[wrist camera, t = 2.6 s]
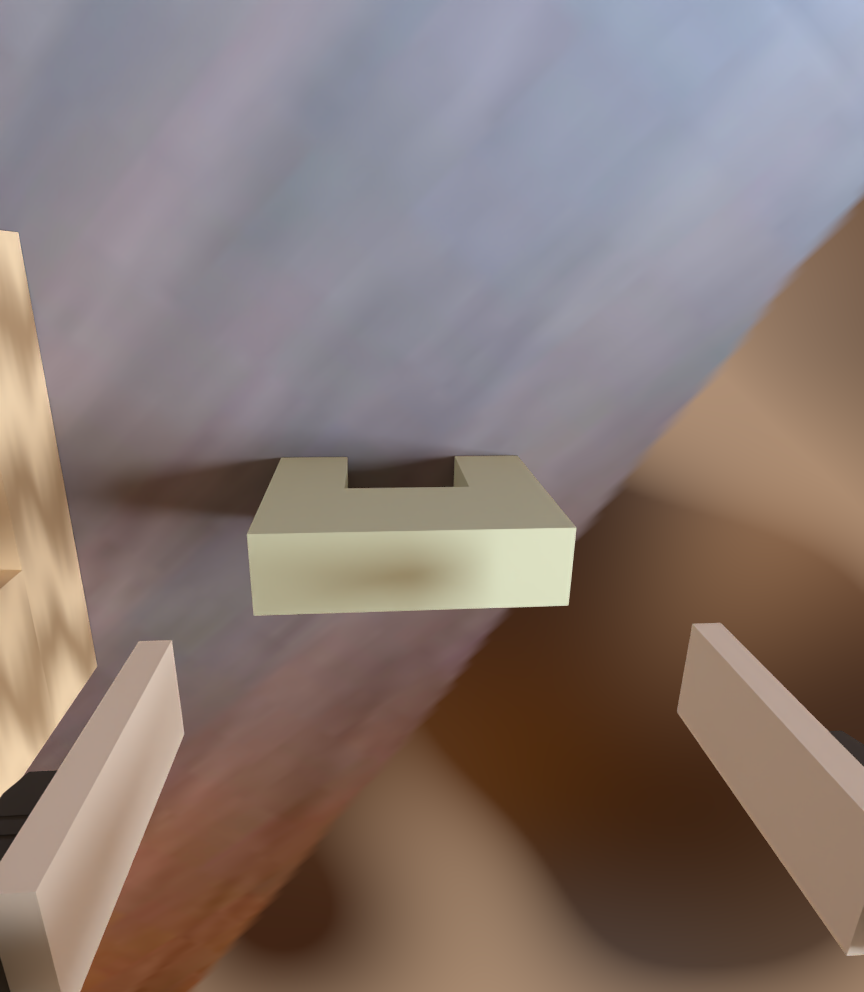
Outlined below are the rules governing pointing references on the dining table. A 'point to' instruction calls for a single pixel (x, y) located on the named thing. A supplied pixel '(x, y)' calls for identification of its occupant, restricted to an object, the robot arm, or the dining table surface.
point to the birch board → (33, 544)
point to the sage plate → (408, 541)
